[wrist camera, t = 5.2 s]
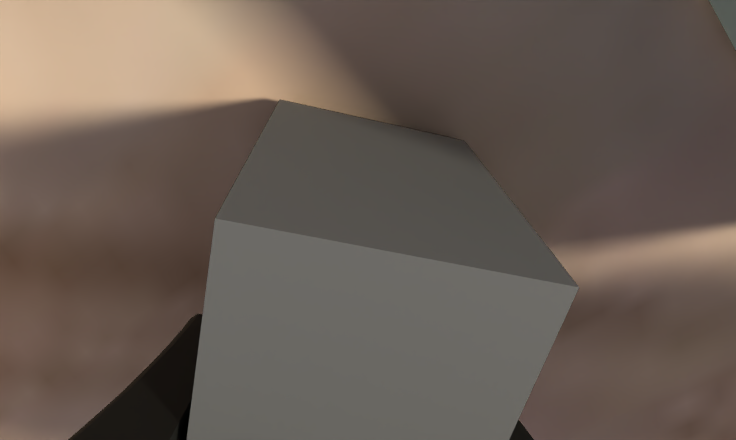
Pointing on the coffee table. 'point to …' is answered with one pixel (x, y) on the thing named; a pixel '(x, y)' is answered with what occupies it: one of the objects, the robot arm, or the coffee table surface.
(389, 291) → the block
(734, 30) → the door
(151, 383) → the robot arm
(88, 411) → the coffee table surface
